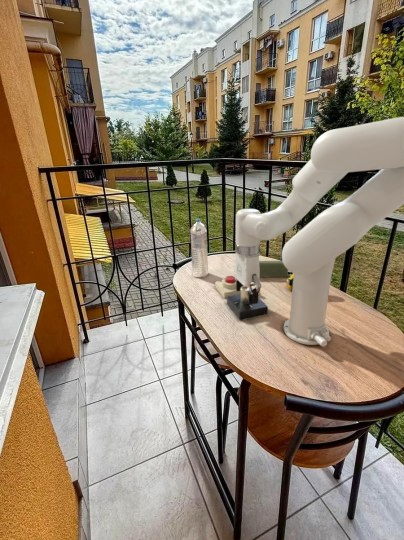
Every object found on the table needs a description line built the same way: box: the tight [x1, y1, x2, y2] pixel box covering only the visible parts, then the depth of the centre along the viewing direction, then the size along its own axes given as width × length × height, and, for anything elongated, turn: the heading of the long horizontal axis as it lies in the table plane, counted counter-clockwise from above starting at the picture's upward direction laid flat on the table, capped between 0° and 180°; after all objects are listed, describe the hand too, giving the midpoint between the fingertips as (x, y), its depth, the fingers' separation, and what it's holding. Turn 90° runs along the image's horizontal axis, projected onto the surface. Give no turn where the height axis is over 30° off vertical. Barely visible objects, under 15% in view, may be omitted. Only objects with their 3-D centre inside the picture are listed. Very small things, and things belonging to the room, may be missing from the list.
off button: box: [225, 275, 236, 283], centre depth 107 cm, size 4×4×2 cm
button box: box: [214, 277, 241, 299], centre depth 108 cm, size 10×9×4 cm
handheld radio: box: [259, 260, 293, 278], centre depth 119 cm, size 7×3×25 cm
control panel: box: [226, 294, 269, 321], centre depth 95 cm, size 11×10×3 cm
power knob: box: [241, 286, 254, 304], centre depth 94 cm, size 4×4×5 cm
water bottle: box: [189, 218, 209, 278], centre depth 119 cm, size 7×7×25 cm
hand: (246, 296), depth 94 cm, fingers open, 9 cm apart
